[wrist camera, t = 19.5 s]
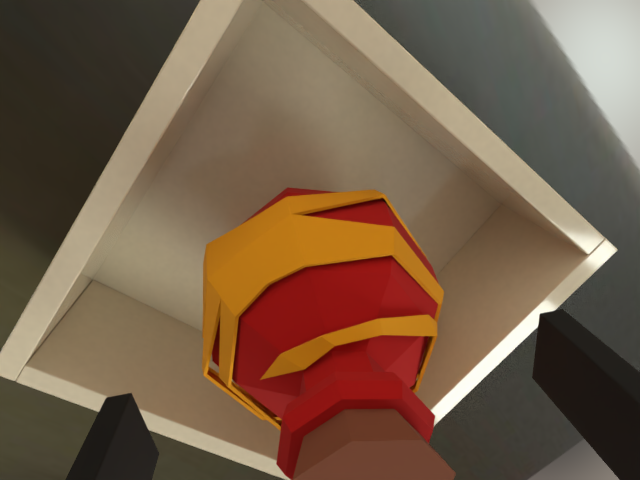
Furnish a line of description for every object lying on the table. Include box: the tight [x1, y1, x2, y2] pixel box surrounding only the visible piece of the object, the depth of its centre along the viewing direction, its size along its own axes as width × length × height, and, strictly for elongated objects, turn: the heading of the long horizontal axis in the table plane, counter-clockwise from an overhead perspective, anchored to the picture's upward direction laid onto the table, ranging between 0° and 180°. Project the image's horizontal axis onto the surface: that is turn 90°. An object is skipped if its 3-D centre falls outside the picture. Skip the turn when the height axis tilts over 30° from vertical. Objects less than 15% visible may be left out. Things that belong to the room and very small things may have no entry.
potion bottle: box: [202, 187, 456, 480], centre depth 16 cm, size 10×10×15 cm
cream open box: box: [0, 0, 617, 480], centre depth 20 cm, size 19×19×8 cm
